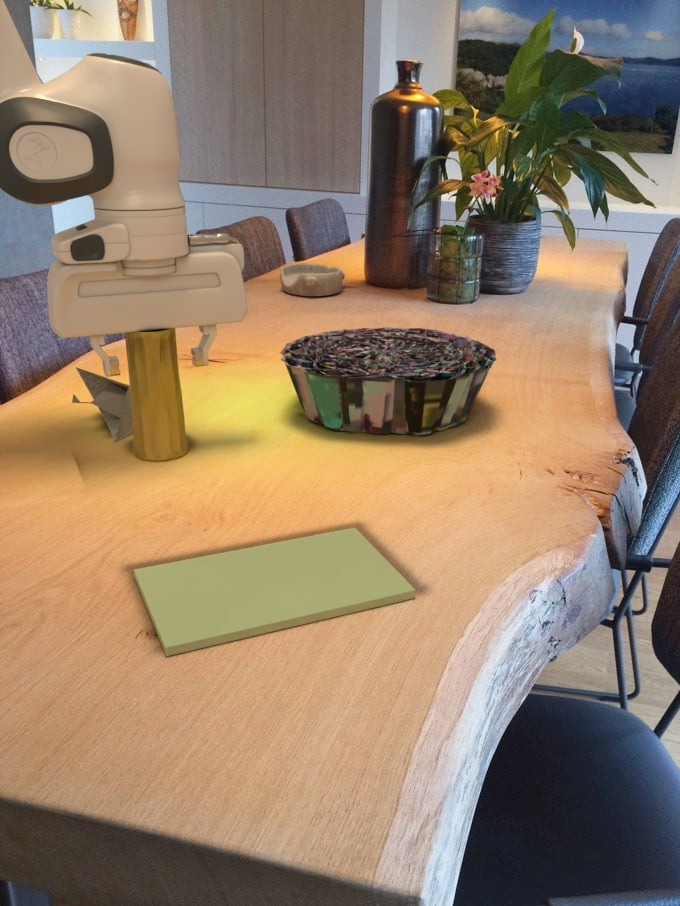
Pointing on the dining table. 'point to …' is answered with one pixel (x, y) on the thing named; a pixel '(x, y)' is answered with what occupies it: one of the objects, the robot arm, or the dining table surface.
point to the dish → (311, 279)
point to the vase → (156, 395)
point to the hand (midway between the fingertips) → (157, 370)
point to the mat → (266, 589)
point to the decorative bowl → (387, 378)
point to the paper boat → (110, 402)
